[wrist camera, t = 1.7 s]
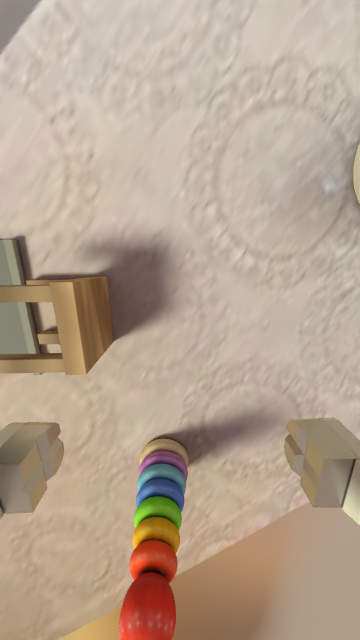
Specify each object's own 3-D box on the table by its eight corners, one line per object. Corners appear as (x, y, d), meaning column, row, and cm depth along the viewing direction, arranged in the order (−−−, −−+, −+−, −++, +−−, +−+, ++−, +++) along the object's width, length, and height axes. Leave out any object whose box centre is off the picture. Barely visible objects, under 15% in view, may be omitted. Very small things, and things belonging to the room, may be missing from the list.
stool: (106, 276, 26) (72, 282, 18) (113, 341, 29) (86, 374, 20) (33, 277, 26) (-38, 283, 18) (46, 342, 29) (-11, 376, 20)
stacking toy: (172, 428, 33) (165, 628, 15) (196, 461, 35) (216, 674, 17) (131, 448, 34) (78, 659, 16) (157, 479, 36) (136, 700, 18)
